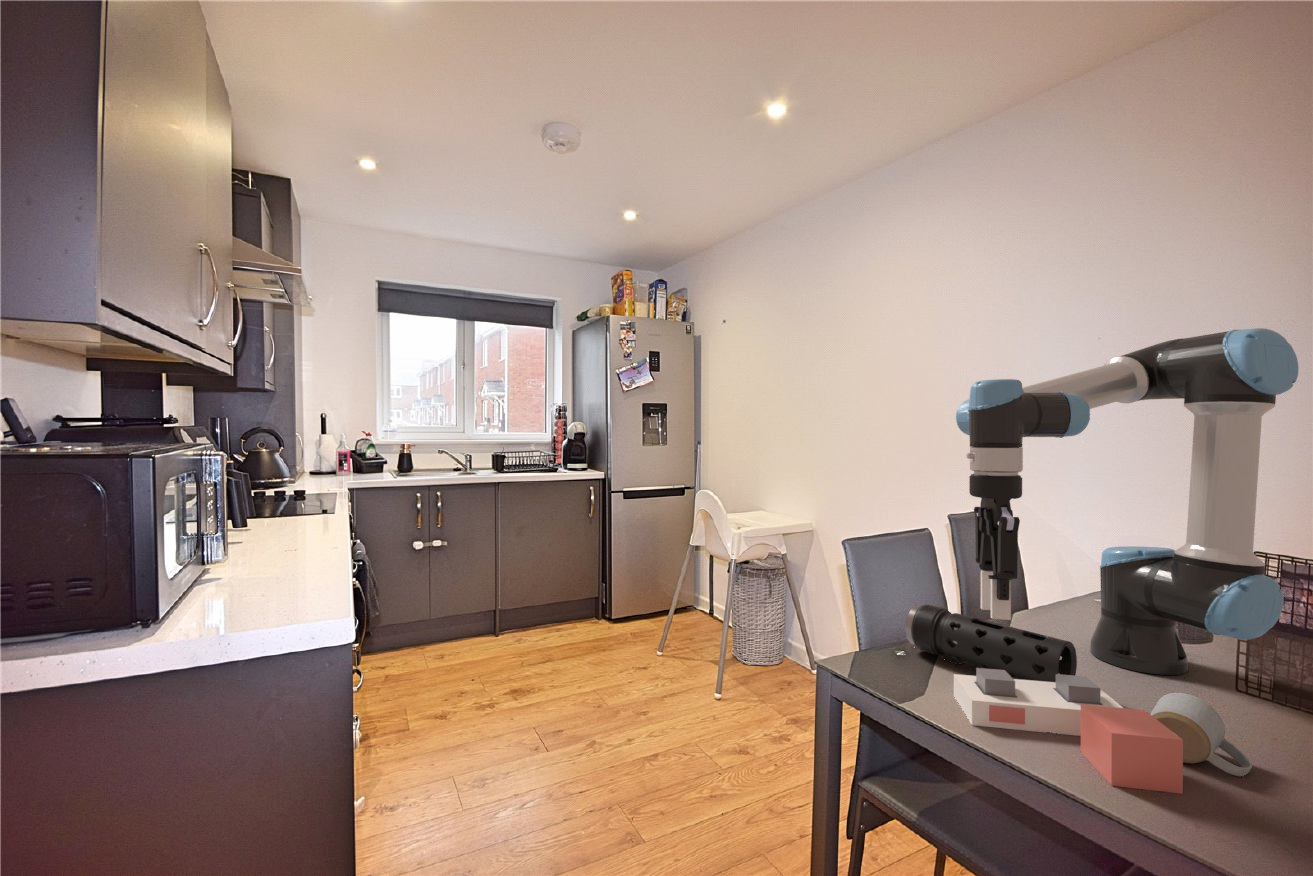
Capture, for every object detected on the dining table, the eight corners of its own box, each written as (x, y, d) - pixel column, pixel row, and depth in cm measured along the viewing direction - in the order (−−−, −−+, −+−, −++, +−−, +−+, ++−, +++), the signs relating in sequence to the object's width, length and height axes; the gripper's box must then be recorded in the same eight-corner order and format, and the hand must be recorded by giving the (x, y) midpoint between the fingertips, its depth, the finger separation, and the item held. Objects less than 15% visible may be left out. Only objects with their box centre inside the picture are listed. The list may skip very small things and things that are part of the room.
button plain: (1085, 700, 93) (1085, 676, 93) (1100, 713, 89) (1100, 688, 89) (1055, 698, 94) (1055, 674, 94) (1068, 710, 90) (1068, 685, 90)
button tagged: (1004, 693, 96) (1004, 670, 96) (1015, 705, 92) (1015, 681, 92) (976, 691, 97) (976, 667, 97) (985, 703, 93) (985, 678, 93)
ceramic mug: (1142, 752, 83) (1143, 700, 83) (1156, 733, 88) (1157, 684, 88) (1246, 789, 74) (1248, 731, 74) (1255, 766, 80) (1256, 712, 79)
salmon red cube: (1144, 758, 81) (1144, 710, 81) (1182, 793, 73) (1183, 740, 73) (1080, 752, 83) (1080, 704, 83) (1111, 785, 75) (1111, 733, 75)
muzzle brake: (1056, 707, 97) (1056, 647, 96) (902, 655, 119) (902, 606, 119) (1077, 691, 102) (1077, 634, 102) (926, 645, 125) (926, 598, 125)
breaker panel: (1096, 709, 95) (1096, 685, 95) (1132, 741, 86) (1132, 715, 85) (953, 696, 100) (953, 674, 100) (972, 726, 90) (972, 701, 90)
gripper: (955, 469, 103) (955, 597, 103) (988, 477, 86) (988, 630, 87) (1001, 470, 101) (1000, 600, 102) (1044, 477, 85) (1043, 633, 85)
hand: (995, 613), depth 94 cm, fingers open, 4 cm apart
